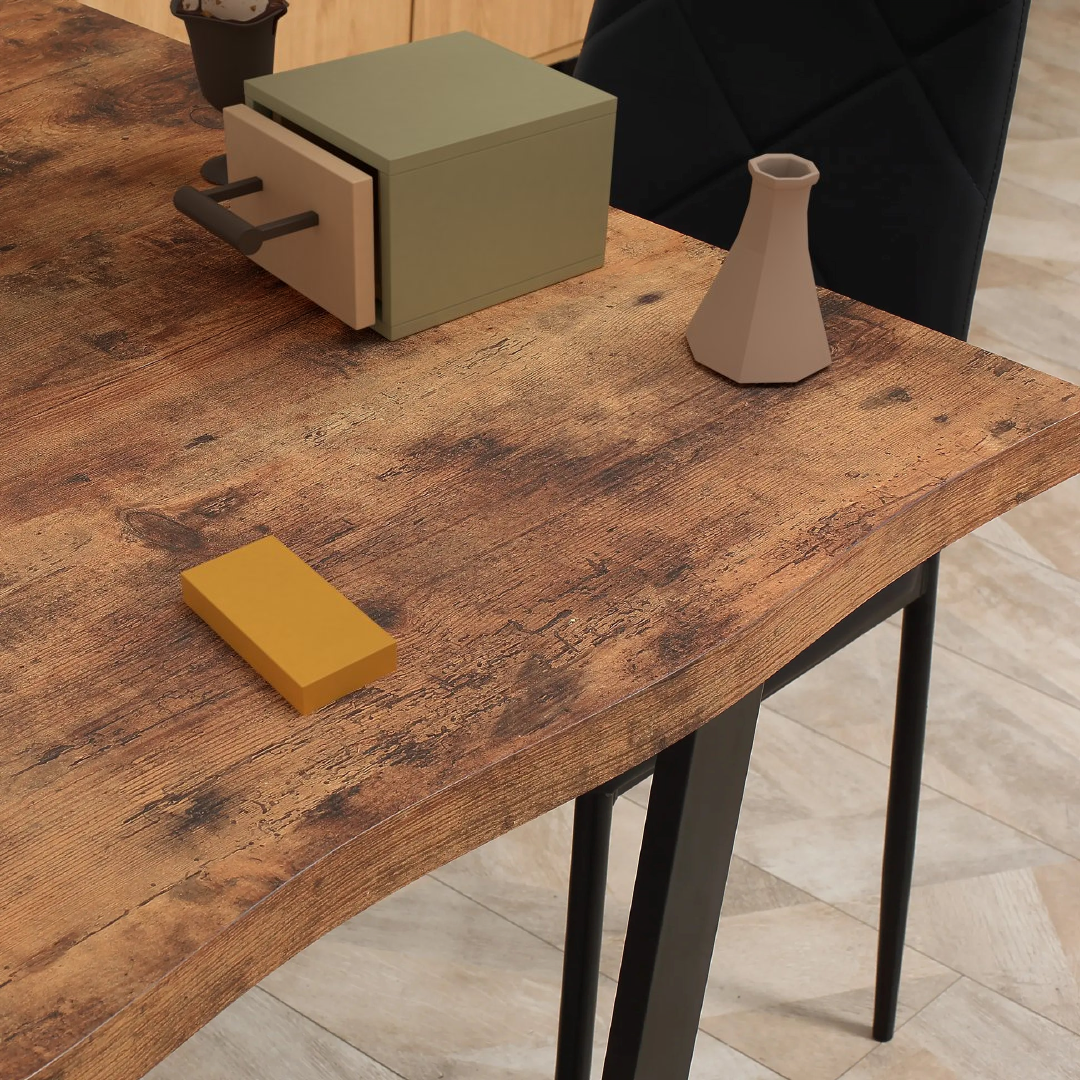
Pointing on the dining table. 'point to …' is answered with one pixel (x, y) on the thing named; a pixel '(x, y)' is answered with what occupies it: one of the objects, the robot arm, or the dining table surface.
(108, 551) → the dining table surface
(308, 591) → the yellow rectangular block
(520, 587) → the dining table surface
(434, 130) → the cabinet
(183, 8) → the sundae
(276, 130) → the drawer
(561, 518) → the dining table surface
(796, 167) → the flask
